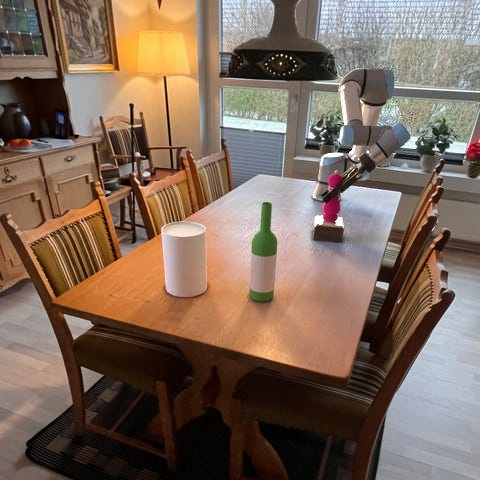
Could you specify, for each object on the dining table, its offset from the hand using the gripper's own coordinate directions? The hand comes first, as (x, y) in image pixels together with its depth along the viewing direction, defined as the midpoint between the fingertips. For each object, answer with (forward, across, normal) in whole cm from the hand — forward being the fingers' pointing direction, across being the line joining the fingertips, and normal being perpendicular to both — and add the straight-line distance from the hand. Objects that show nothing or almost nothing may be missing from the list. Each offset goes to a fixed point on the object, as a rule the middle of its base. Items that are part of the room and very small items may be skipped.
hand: (323, 199), depth 171 cm
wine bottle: (+28, -58, +5) cm, 64 cm away
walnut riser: (+9, 0, -14) cm, 16 cm away
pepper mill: (+3, 0, -9) cm, 9 cm away
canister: (+45, -54, +23) cm, 74 cm away
